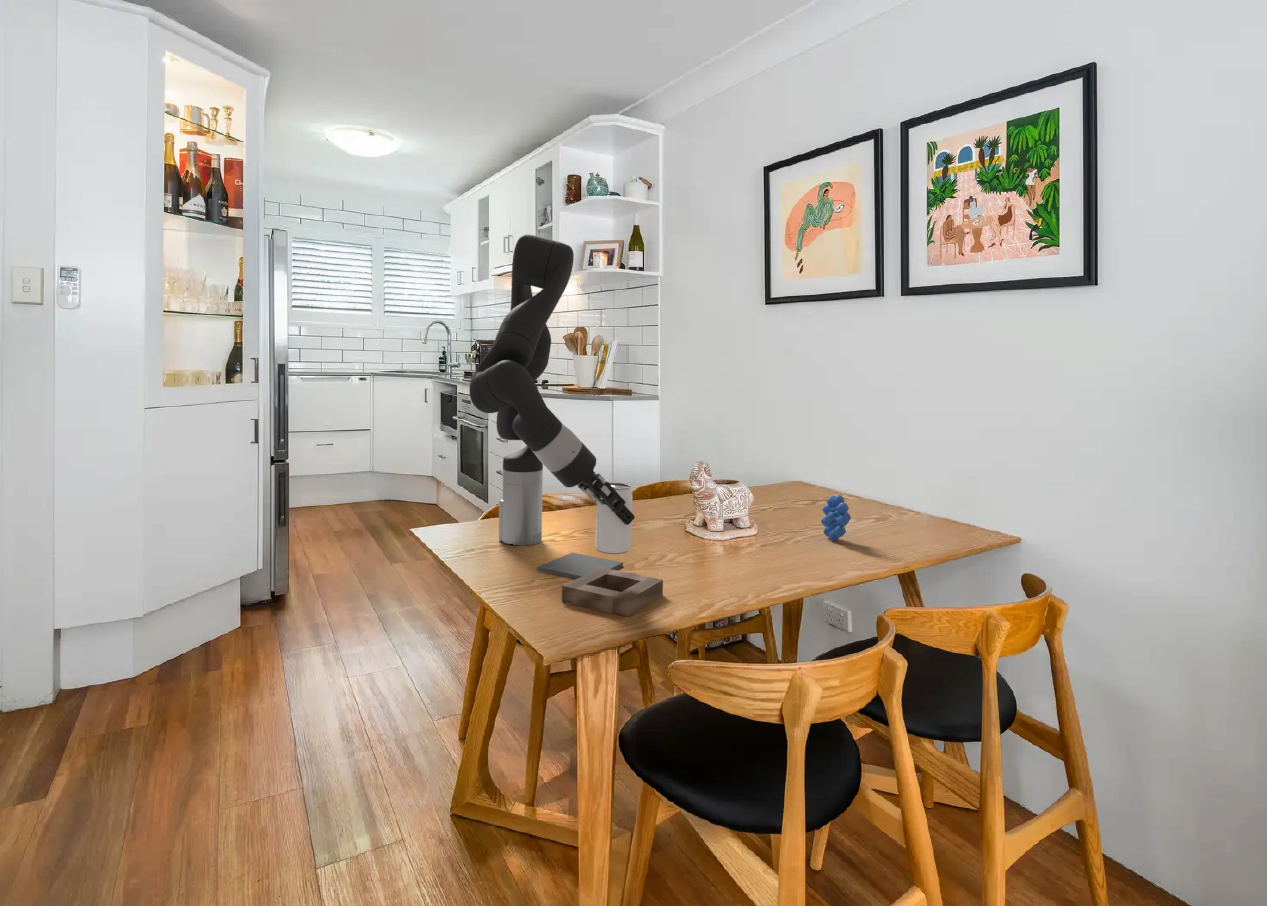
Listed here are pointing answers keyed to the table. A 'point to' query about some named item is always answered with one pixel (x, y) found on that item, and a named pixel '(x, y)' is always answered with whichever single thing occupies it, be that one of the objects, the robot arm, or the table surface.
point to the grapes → (835, 517)
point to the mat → (577, 565)
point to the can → (613, 525)
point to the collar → (600, 595)
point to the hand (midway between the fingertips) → (623, 516)
